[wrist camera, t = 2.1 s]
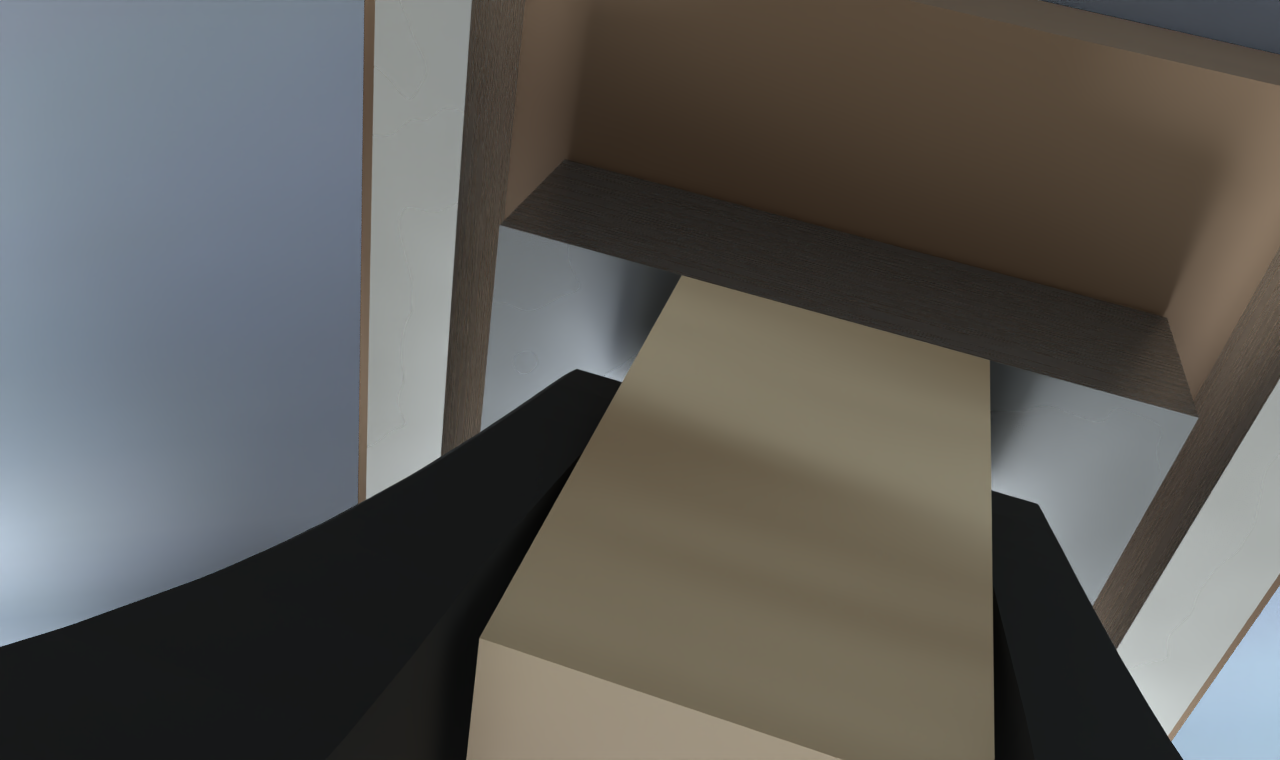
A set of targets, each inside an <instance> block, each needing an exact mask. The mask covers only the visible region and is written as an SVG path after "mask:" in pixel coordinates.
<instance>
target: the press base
mask: <svg viewBox="0 0 1280 760" xmlns="http://www.w3.org/2000/svg"><path fill="white" fill-rule="evenodd" d="M564 159H567V160H571V161H575V162H579V163H583V164H586V165H590V166H594V167H598V168H602V169H605V170H609V171H613V172H617V173H621V174H624V175H628V176H632V177H636V178H639V179H643V180H647V181H651V182H655V183H658V184H662V185H666V186H670V187H674V188H677V189H681V190H685V191H689V192H693V193H696V194H700V195H704V196H708V197H712V198H715V199H719V200H723V201H727V202H730V203H734V204H738V205H742V206H746V207H749V208H753V209H757V210H761V211H765V212H768V213H772V214H776V215H780V216H784V217H787V218H791V219H795V220H799V221H803V222H806V223H810V224H814V225H818V226H821V227H825V228H829V229H833V230H837V231H840V232H844V233H848V234H852V235H856V236H859V237H863V238H867V239H871V240H875V241H878V242H882V243H886V244H890V245H894V246H897V247H901V248H905V249H909V250H912V251H916V252H920V253H924V254H928V255H931V256H935V257H939V258H943V259H947V260H950V261H954V262H958V263H962V264H966V265H969V266H973V267H977V268H981V269H985V270H988V271H992V272H996V273H1000V274H1003V275H1007V276H1011V277H1015V278H1019V279H1022V280H1026V281H1030V282H1034V283H1038V284H1041V285H1045V286H1049V287H1053V288H1057V289H1060V290H1064V291H1068V292H1072V293H1076V294H1079V295H1083V296H1087V297H1091V298H1094V299H1098V300H1102V301H1106V302H1110V303H1113V304H1117V305H1121V306H1125V307H1129V308H1132V309H1136V310H1140V311H1144V312H1148V313H1151V314H1155V315H1159V316H1163V317H1167V319H1168V322H1169V326H1170V329H1171V332H1172V335H1173V338H1174V341H1175V344H1176V348H1177V351H1178V354H1179V357H1180V360H1181V363H1182V366H1183V370H1184V373H1185V376H1186V379H1187V382H1188V385H1189V388H1190V392H1191V395H1192V398H1193V401H1194V404H1195V407H1196V410H1197V414H1198V417H1199V418H1198V420H1197V422H1196V424H1195V425H1194V427H1193V429H1192V431H1191V433H1190V434H1189V436H1188V438H1187V440H1186V441H1185V443H1184V445H1183V447H1182V448H1181V450H1180V452H1179V454H1178V456H1177V457H1176V459H1175V461H1174V463H1173V464H1172V466H1171V468H1170V470H1169V472H1168V473H1167V475H1166V477H1165V479H1164V480H1163V482H1162V484H1161V486H1160V487H1159V489H1158V491H1157V493H1156V495H1155V496H1154V498H1153V500H1152V502H1151V503H1150V505H1149V507H1148V509H1147V510H1146V512H1145V514H1144V516H1143V518H1142V519H1141V521H1140V523H1139V525H1138V526H1137V528H1136V530H1135V532H1134V533H1133V535H1132V537H1131V539H1130V541H1129V542H1128V544H1127V546H1126V548H1125V549H1124V551H1123V553H1122V555H1121V556H1120V558H1119V560H1118V562H1117V564H1116V565H1115V567H1114V569H1113V571H1112V572H1111V574H1110V576H1109V578H1108V579H1107V581H1106V583H1105V585H1104V587H1103V588H1102V590H1101V592H1100V594H1099V595H1098V597H1097V599H1096V601H1095V602H1094V604H1093V608H1094V610H1095V612H1096V614H1097V615H1098V617H1099V619H1100V621H1101V623H1102V625H1103V627H1104V628H1105V630H1106V632H1107V634H1108V636H1109V637H1110V639H1111V641H1112V643H1113V645H1114V646H1115V648H1116V650H1117V652H1118V654H1119V655H1120V657H1121V659H1122V660H1123V662H1124V664H1125V666H1126V667H1127V669H1128V671H1129V672H1130V674H1131V676H1132V678H1133V679H1134V681H1135V683H1136V684H1137V686H1138V688H1139V690H1140V691H1141V693H1142V695H1143V696H1144V698H1145V700H1146V702H1147V703H1148V705H1149V706H1150V708H1151V710H1152V711H1153V713H1154V715H1155V716H1156V718H1157V719H1158V721H1159V723H1160V724H1161V726H1162V727H1163V729H1164V731H1165V732H1166V734H1167V736H1168V737H1169V739H1170V740H1171V741H1172V740H1173V738H1174V737H1175V735H1176V734H1177V732H1178V731H1179V730H1180V728H1181V727H1182V725H1183V724H1184V722H1185V721H1186V719H1187V718H1188V717H1189V715H1190V714H1191V712H1192V711H1193V709H1194V708H1195V706H1196V705H1197V704H1198V702H1199V701H1200V699H1201V698H1202V696H1203V695H1204V694H1205V692H1206V691H1207V689H1208V688H1209V686H1210V685H1211V683H1212V682H1213V681H1214V679H1215V678H1216V676H1217V675H1218V673H1219V672H1220V671H1221V669H1222V668H1223V666H1224V665H1225V663H1226V662H1227V660H1228V659H1229V658H1230V656H1231V655H1232V653H1233V652H1234V650H1235V649H1236V647H1237V646H1238V645H1239V643H1240V642H1241V640H1242V639H1243V637H1244V636H1245V635H1246V633H1247V632H1248V630H1249V629H1250V627H1251V626H1252V624H1253V623H1254V622H1255V620H1256V619H1257V617H1258V616H1259V614H1260V613H1261V611H1262V610H1263V609H1264V607H1265V606H1266V604H1267V603H1268V601H1269V600H1270V599H1271V597H1272V596H1273V594H1274V593H1275V591H1276V590H1277V588H1278V587H1279V586H1280V54H1275V53H1271V52H1266V51H1262V50H1257V49H1253V48H1249V47H1244V46H1240V45H1235V44H1231V43H1227V42H1222V41H1218V40H1213V39H1209V38H1204V37H1200V36H1196V35H1191V34H1187V33H1182V32H1178V31H1173V30H1169V29H1165V28H1160V27H1156V26H1151V25H1147V24H1142V23H1138V22H1134V21H1129V20H1125V19H1120V18H1116V17H1112V16H1107V15H1103V14H1098V13H1094V12H1089V11H1085V10H1081V9H1076V8H1072V7H1067V6H1063V5H1058V4H1054V3H1050V2H1045V1H1041V0H364V77H363V154H362V232H361V310H360V388H359V466H358V504H359V503H361V502H363V501H364V500H366V499H368V498H370V497H372V496H374V495H375V494H377V493H379V492H381V491H383V490H384V489H386V488H388V487H390V486H392V485H394V484H395V483H397V482H399V481H401V480H403V479H405V478H406V477H408V476H410V475H411V474H413V473H415V472H416V471H418V470H420V469H422V468H423V467H425V466H426V465H428V464H430V463H431V462H433V461H434V460H436V459H438V458H439V457H441V456H442V455H444V454H446V453H447V452H449V451H450V450H452V449H454V448H455V447H457V446H459V445H460V444H462V443H463V442H465V441H467V440H468V439H470V438H471V437H473V436H475V435H476V434H478V433H479V432H480V429H481V418H482V408H483V397H484V386H485V376H486V365H487V354H488V343H489V333H490V322H491V311H492V301H493V290H494V279H495V268H496V258H497V247H498V236H499V226H500V224H501V223H502V222H503V221H504V220H505V219H506V218H507V217H508V216H509V215H510V214H511V213H512V212H513V211H514V210H515V209H516V208H517V207H518V206H519V205H520V204H521V203H522V202H523V201H524V200H525V199H526V198H527V197H528V196H529V195H530V194H531V193H532V192H533V191H534V190H535V189H536V188H537V187H538V186H539V185H540V184H541V183H542V182H543V181H544V180H545V179H546V178H547V177H548V176H549V175H550V174H551V173H552V172H553V171H554V170H555V168H556V167H557V166H558V165H559V164H560V163H561V162H562V161H563V160H564Z"/></svg>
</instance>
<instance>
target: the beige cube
mask: <svg viewBox="0 0 1280 760" xmlns="http://www.w3.org/2000/svg"><path fill="white" fill-rule="evenodd" d="M575 369H579V370H583V371H586V372H590V373H593V374H597V375H600V376H603V377H607V378H610V379H614V380H617V381H620V382H622V383H621V385H620V387H619V389H618V391H617V392H616V394H615V396H614V398H613V400H612V401H611V403H610V405H609V407H608V408H607V410H606V412H605V414H604V416H603V417H602V419H601V421H600V423H599V425H598V426H597V428H596V430H595V432H594V434H593V435H592V437H591V439H590V441H589V443H588V444H587V446H586V448H585V450H584V451H583V453H582V455H581V457H580V459H579V460H578V462H577V464H576V466H575V468H574V469H573V471H572V473H571V475H570V477H569V478H568V480H567V482H566V484H565V486H564V487H563V489H562V491H561V493H560V494H559V496H558V498H557V500H556V502H555V503H554V505H553V507H552V509H551V511H550V512H549V514H548V516H547V518H546V520H545V521H544V523H543V525H542V527H541V529H540V530H539V532H538V534H537V536H536V537H535V539H534V541H533V543H532V545H531V546H530V548H529V550H528V552H527V554H526V555H525V557H524V559H523V561H522V563H521V564H520V566H519V568H518V570H517V572H516V573H515V575H514V577H513V579H512V580H511V582H510V584H509V586H508V588H507V589H506V591H505V593H504V595H503V597H502V598H501V600H500V602H499V604H498V606H497V607H496V609H495V611H494V613H493V615H492V616H491V618H490V620H489V622H488V624H487V625H486V627H485V629H484V631H483V632H482V634H481V636H480V638H479V647H478V656H477V665H476V675H475V684H474V693H473V703H472V712H471V721H470V730H469V740H468V749H467V758H466V760H995V749H994V667H993V584H992V502H991V490H993V491H996V492H999V493H1003V494H1006V495H1010V496H1013V497H1016V498H1020V499H1023V500H1027V501H1030V502H1033V503H1037V504H1038V505H1039V506H1040V508H1041V510H1042V512H1043V514H1044V516H1045V518H1046V519H1047V521H1048V523H1049V525H1050V527H1051V529H1052V531H1053V532H1054V534H1055V536H1056V538H1057V540H1058V542H1059V544H1060V546H1061V548H1062V549H1063V551H1064V553H1065V555H1066V557H1067V559H1068V561H1069V563H1070V565H1071V567H1072V569H1073V570H1074V572H1075V574H1076V576H1077V578H1078V580H1079V582H1080V584H1081V586H1082V588H1083V589H1084V591H1085V593H1086V595H1087V597H1088V599H1089V601H1090V602H1091V604H1092V606H1093V604H1094V602H1095V601H1096V599H1097V597H1098V595H1099V594H1100V592H1101V590H1102V588H1103V587H1104V585H1105V583H1106V581H1107V579H1108V578H1109V576H1110V574H1111V572H1112V571H1113V569H1114V567H1115V565H1116V564H1117V562H1118V560H1119V558H1120V556H1121V555H1122V553H1123V551H1124V549H1125V548H1126V546H1127V544H1128V542H1129V541H1130V539H1131V537H1132V535H1133V533H1134V532H1135V530H1136V528H1137V526H1138V525H1139V523H1140V521H1141V519H1142V518H1143V516H1144V514H1145V512H1146V510H1147V509H1148V507H1149V505H1150V503H1151V502H1152V500H1153V498H1154V496H1155V495H1156V493H1157V491H1158V489H1159V487H1160V486H1161V484H1162V482H1163V480H1164V479H1165V477H1166V475H1167V473H1168V472H1169V470H1170V468H1171V466H1172V464H1173V463H1174V461H1175V459H1176V457H1177V456H1178V454H1179V452H1180V450H1181V448H1182V447H1183V445H1184V443H1185V441H1186V440H1187V438H1188V436H1189V434H1190V433H1191V431H1192V429H1193V427H1194V425H1195V424H1196V422H1197V420H1198V418H1199V417H1198V414H1197V410H1196V407H1195V404H1194V401H1193V398H1192V395H1191V392H1190V388H1189V385H1188V382H1187V379H1186V376H1185V373H1184V370H1183V366H1182V363H1181V360H1180V357H1179V354H1178V351H1177V348H1176V344H1175V341H1174V338H1173V335H1172V332H1171V329H1170V326H1169V322H1168V319H1167V317H1163V316H1159V315H1155V314H1151V313H1148V312H1144V311H1140V310H1136V309H1132V308H1129V307H1125V306H1121V305H1117V304H1113V303H1110V302H1106V301H1102V300H1098V299H1094V298H1091V297H1087V296H1083V295H1079V294H1076V293H1072V292H1068V291H1064V290H1060V289H1057V288H1053V287H1049V286H1045V285H1041V284H1038V283H1034V282H1030V281H1026V280H1022V279H1019V278H1015V277H1011V276H1007V275H1003V274H1000V273H996V272H992V271H988V270H985V269H981V268H977V267H973V266H969V265H966V264H962V263H958V262H954V261H950V260H947V259H943V258H939V257H935V256H931V255H928V254H924V253H920V252H916V251H912V250H909V249H905V248H901V247H897V246H894V245H890V244H886V243H882V242H878V241H875V240H871V239H867V238H863V237H859V236H856V235H852V234H848V233H844V232H840V231H837V230H833V229H829V228H825V227H821V226H818V225H814V224H810V223H806V222H803V221H799V220H795V219H791V218H787V217H784V216H780V215H776V214H772V213H768V212H765V211H761V210H757V209H753V208H749V207H746V206H742V205H738V204H734V203H730V202H727V201H723V200H719V199H715V198H712V197H708V196H704V195H700V194H696V193H693V192H689V191H685V190H681V189H677V188H674V187H670V186H666V185H662V184H658V183H655V182H651V181H647V180H643V179H639V178H636V177H632V176H628V175H624V174H621V173H617V172H613V171H609V170H605V169H602V168H598V167H594V166H590V165H586V164H583V163H579V162H575V161H571V160H567V159H564V160H563V161H562V162H561V163H560V164H559V165H558V166H557V167H556V168H555V170H554V171H553V172H552V173H551V174H550V175H549V176H548V177H547V178H546V179H545V180H544V181H543V182H542V183H541V184H540V185H539V186H538V187H537V188H536V189H535V190H534V191H533V192H532V193H531V194H530V195H529V196H528V197H527V198H526V199H525V200H524V201H523V202H522V203H521V204H520V205H519V206H518V207H517V208H516V209H515V210H514V211H513V212H512V213H511V214H510V215H509V216H508V217H507V218H506V219H505V220H504V221H503V222H502V223H501V224H500V226H499V236H498V247H497V258H496V268H495V279H494V290H493V301H492V311H491V322H490V333H489V343H488V354H487V365H486V376H485V386H484V397H483V408H482V418H481V429H480V432H481V431H482V430H484V429H485V428H487V427H488V426H490V425H491V424H493V423H494V422H496V421H497V420H499V419H500V418H502V417H504V416H505V415H507V414H508V413H510V412H511V411H512V410H514V409H515V408H517V407H518V406H520V405H521V404H523V403H524V402H526V401H527V400H529V399H530V398H531V397H533V396H534V395H536V394H537V393H539V392H540V391H542V390H543V389H544V388H546V387H547V386H549V385H550V384H552V383H553V382H555V381H556V380H558V379H559V378H561V377H562V376H563V375H565V374H567V373H569V372H571V371H573V370H575Z"/></svg>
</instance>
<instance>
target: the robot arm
mask: <svg viewBox="0 0 1280 760" xmlns="http://www.w3.org/2000/svg"><path fill="white" fill-rule="evenodd" d="M621 383H622V382H620V381H617V380H614V379H610V378H607V377H603V376H600V375H597V374H593V373H590V372H586V371H583V370H579V369H575V370H573V371H571V372H569V373H567V374H565V375H563V376H562V377H561V378H559V379H558V380H556V381H555V382H553V383H552V384H550V385H549V386H547V387H546V388H544V389H543V390H542V391H540V392H539V393H537V394H536V395H534V396H533V397H531V398H530V399H529V400H527V401H526V402H524V403H523V404H521V405H520V406H518V407H517V408H515V409H514V410H512V411H511V412H510V413H508V414H507V415H505V416H504V417H502V418H500V419H499V420H497V421H496V422H494V423H493V424H491V425H490V426H488V427H487V428H485V429H484V430H482V431H481V432H479V433H478V434H476V435H475V436H473V437H471V438H470V439H468V440H467V441H465V442H463V443H462V444H460V445H459V446H457V447H455V448H454V449H452V450H450V451H449V452H447V453H446V454H444V455H442V456H441V457H439V458H438V459H436V460H434V461H433V462H431V463H430V464H428V465H426V466H425V467H423V468H422V469H420V470H418V471H416V472H415V473H413V474H411V475H410V476H408V477H406V478H405V479H403V480H401V481H399V482H397V483H395V484H394V485H392V486H390V487H388V488H386V489H384V490H383V491H381V492H379V493H377V494H375V495H374V496H372V497H370V498H368V499H366V500H364V501H363V502H361V503H359V504H357V505H355V506H353V507H352V508H350V509H348V510H346V511H344V512H343V513H341V514H339V515H337V516H335V517H333V518H331V519H329V520H327V521H326V522H324V523H322V524H320V525H318V526H315V527H313V528H311V529H309V530H307V531H305V532H303V533H301V534H299V535H297V536H295V537H293V538H291V539H289V540H287V541H285V542H283V543H280V544H278V545H276V546H274V547H272V548H270V549H268V550H265V551H263V552H261V553H259V554H256V555H254V556H252V557H249V558H247V559H245V560H243V561H240V562H238V563H236V564H234V565H231V566H229V567H227V568H225V569H222V570H220V571H217V572H215V573H212V574H210V575H207V576H205V577H202V578H200V579H197V580H195V581H192V582H189V583H186V584H184V585H181V586H178V587H175V588H173V589H170V590H167V591H164V592H162V593H159V594H156V595H153V596H150V597H148V598H145V599H142V600H139V601H137V602H134V603H131V604H128V605H126V606H123V607H120V608H117V609H115V610H112V611H109V612H106V613H103V614H101V615H98V616H95V617H92V618H90V619H87V620H84V621H81V622H79V623H76V624H73V625H70V626H67V627H64V628H60V629H57V630H54V631H51V632H48V633H45V634H41V635H38V636H35V637H32V638H28V639H25V640H22V641H18V642H15V643H12V644H9V645H5V646H2V647H0V760H466V758H467V749H468V740H469V730H470V721H471V712H472V703H473V693H474V684H475V675H476V665H477V656H478V647H479V638H480V636H481V634H482V632H483V631H484V629H485V627H486V625H487V624H488V622H489V620H490V618H491V616H492V615H493V613H494V611H495V609H496V607H497V606H498V604H499V602H500V600H501V598H502V597H503V595H504V593H505V591H506V589H507V588H508V586H509V584H510V582H511V580H512V579H513V577H514V575H515V573H516V572H517V570H518V568H519V566H520V564H521V563H522V561H523V559H524V557H525V555H526V554H527V552H528V550H529V548H530V546H531V545H532V543H533V541H534V539H535V537H536V536H537V534H538V532H539V530H540V529H541V527H542V525H543V523H544V521H545V520H546V518H547V516H548V514H549V512H550V511H551V509H552V507H553V505H554V503H555V502H556V500H557V498H558V496H559V494H560V493H561V491H562V489H563V487H564V486H565V484H566V482H567V480H568V478H569V477H570V475H571V473H572V471H573V469H574V468H575V466H576V464H577V462H578V460H579V459H580V457H581V455H582V453H583V451H584V450H585V448H586V446H587V444H588V443H589V441H590V439H591V437H592V435H593V434H594V432H595V430H596V428H597V426H598V425H599V423H600V421H601V419H602V417H603V416H604V414H605V412H606V410H607V408H608V407H609V405H610V403H611V401H612V400H613V398H614V396H615V394H616V392H617V391H618V389H619V387H620V385H621ZM991 502H992V584H993V667H994V749H995V760H1183V759H1182V757H1181V756H1180V754H1179V753H1178V751H1177V750H1176V748H1175V747H1174V745H1173V744H1172V742H1171V740H1170V739H1169V737H1168V736H1167V734H1166V732H1165V731H1164V729H1163V727H1162V726H1161V724H1160V723H1159V721H1158V719H1157V718H1156V716H1155V715H1154V713H1153V711H1152V710H1151V708H1150V706H1149V705H1148V703H1147V702H1146V700H1145V698H1144V696H1143V695H1142V693H1141V691H1140V690H1139V688H1138V686H1137V684H1136V683H1135V681H1134V679H1133V678H1132V676H1131V674H1130V672H1129V671H1128V669H1127V667H1126V666H1125V664H1124V662H1123V660H1122V659H1121V657H1120V655H1119V654H1118V652H1117V650H1116V648H1115V646H1114V645H1113V643H1112V641H1111V639H1110V637H1109V636H1108V634H1107V632H1106V630H1105V628H1104V627H1103V625H1102V623H1101V621H1100V619H1099V617H1098V615H1097V614H1096V612H1095V610H1094V608H1093V606H1092V604H1091V602H1090V601H1089V599H1088V597H1087V595H1086V593H1085V591H1084V589H1083V588H1082V586H1081V584H1080V582H1079V580H1078V578H1077V576H1076V574H1075V572H1074V570H1073V569H1072V567H1071V565H1070V563H1069V561H1068V559H1067V557H1066V555H1065V553H1064V551H1063V549H1062V548H1061V546H1060V544H1059V542H1058V540H1057V538H1056V536H1055V534H1054V532H1053V531H1052V529H1051V527H1050V525H1049V523H1048V521H1047V519H1046V518H1045V516H1044V514H1043V512H1042V510H1041V508H1040V506H1039V505H1038V504H1037V503H1033V502H1030V501H1027V500H1023V499H1020V498H1016V497H1013V496H1010V495H1006V494H1003V493H999V492H996V491H993V490H991Z"/></svg>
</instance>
